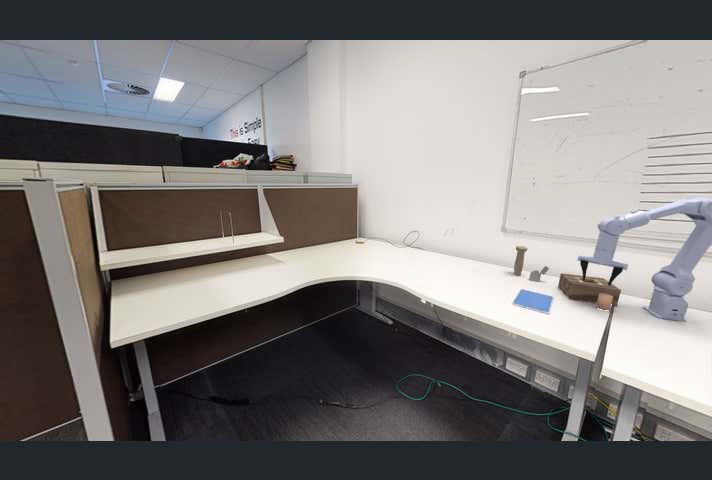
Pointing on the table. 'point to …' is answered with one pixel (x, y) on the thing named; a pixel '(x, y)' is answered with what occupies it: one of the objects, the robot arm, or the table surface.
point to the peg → (604, 301)
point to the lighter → (538, 274)
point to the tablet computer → (533, 301)
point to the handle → (519, 259)
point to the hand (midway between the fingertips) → (596, 281)
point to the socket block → (587, 288)
